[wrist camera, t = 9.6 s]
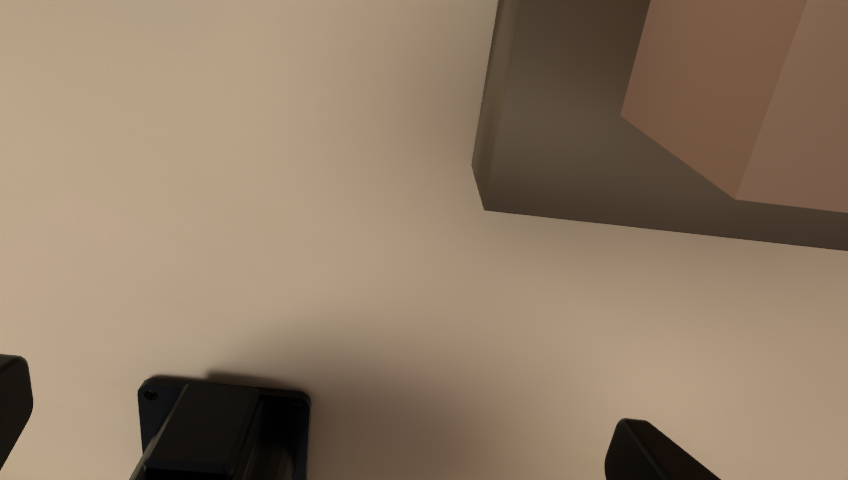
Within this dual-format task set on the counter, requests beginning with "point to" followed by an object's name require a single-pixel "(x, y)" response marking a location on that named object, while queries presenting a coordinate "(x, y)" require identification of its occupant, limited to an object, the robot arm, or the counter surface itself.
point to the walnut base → (601, 135)
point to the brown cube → (749, 95)
